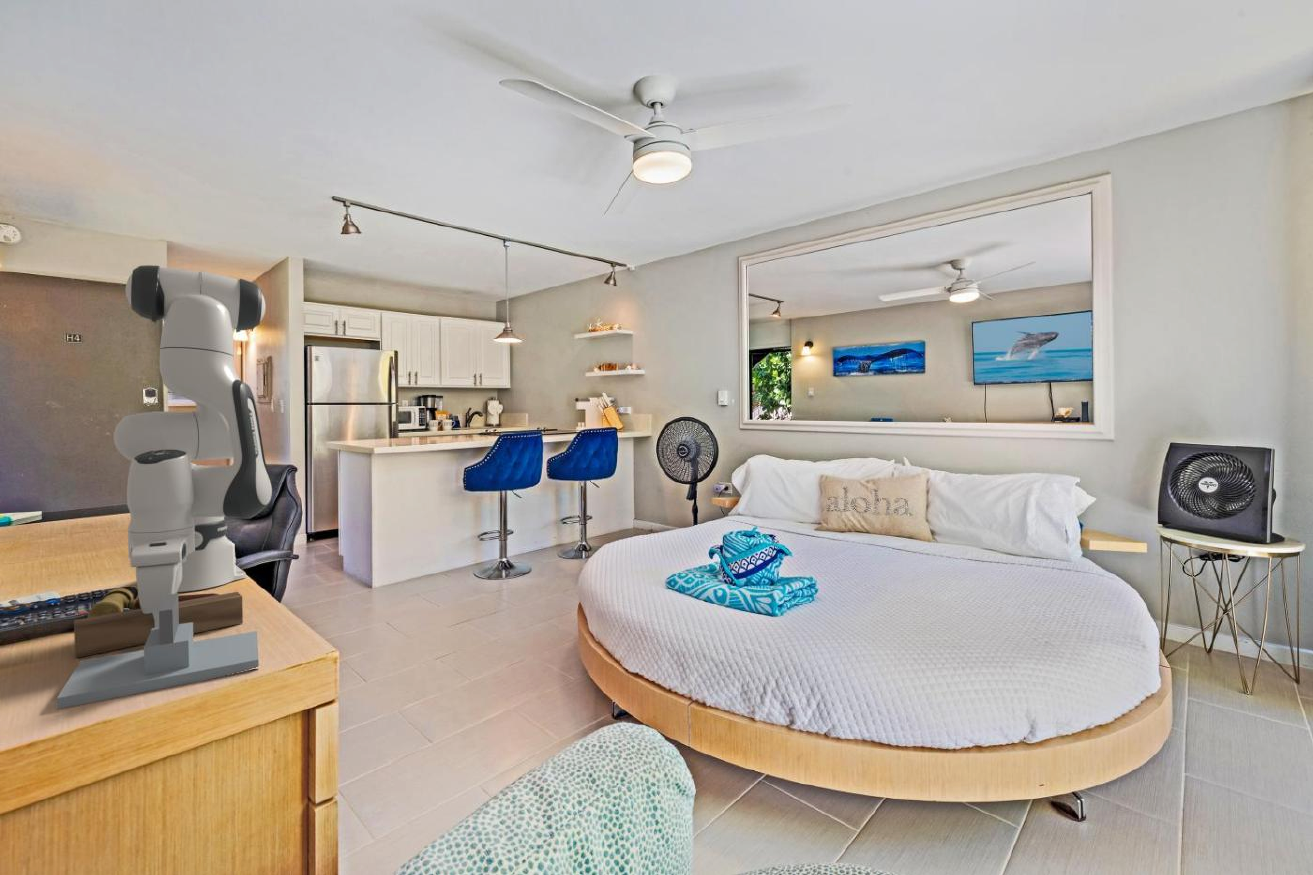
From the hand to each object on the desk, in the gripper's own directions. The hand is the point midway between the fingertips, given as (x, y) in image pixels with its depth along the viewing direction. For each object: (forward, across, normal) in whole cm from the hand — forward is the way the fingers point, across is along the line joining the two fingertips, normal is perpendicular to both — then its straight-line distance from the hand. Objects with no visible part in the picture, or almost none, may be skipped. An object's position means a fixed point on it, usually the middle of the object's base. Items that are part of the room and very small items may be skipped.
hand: (164, 623), depth 102 cm
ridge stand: (+2, +17, +2) cm, 18 cm away
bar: (+2, 0, 0) cm, 2 cm away
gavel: (+3, -18, -1) cm, 18 cm away
